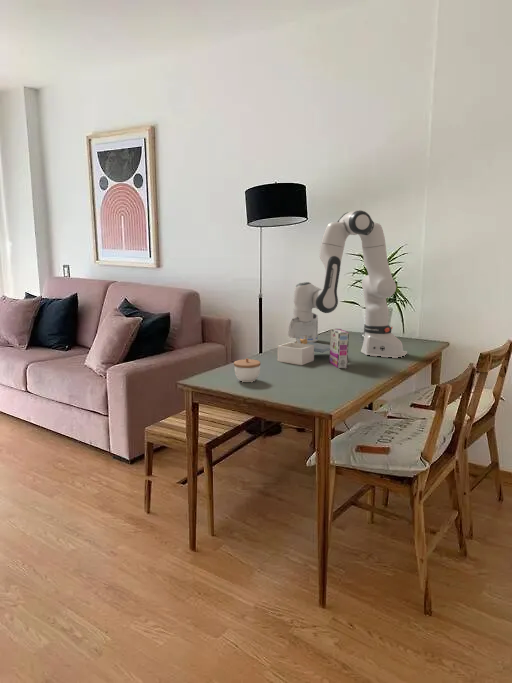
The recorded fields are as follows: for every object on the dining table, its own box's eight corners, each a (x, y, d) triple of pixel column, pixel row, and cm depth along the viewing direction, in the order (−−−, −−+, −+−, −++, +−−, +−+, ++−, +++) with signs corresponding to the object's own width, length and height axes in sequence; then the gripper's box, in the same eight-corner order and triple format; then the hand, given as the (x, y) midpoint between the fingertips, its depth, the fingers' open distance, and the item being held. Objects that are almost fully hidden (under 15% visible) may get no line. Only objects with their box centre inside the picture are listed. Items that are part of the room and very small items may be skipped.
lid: (334, 349, 254) (334, 341, 254) (323, 353, 246) (323, 345, 245) (304, 345, 264) (304, 337, 263) (292, 348, 256) (292, 340, 255)
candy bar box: (348, 369, 234) (349, 332, 231) (337, 369, 233) (338, 332, 230) (339, 363, 245) (340, 328, 242) (328, 363, 244) (329, 328, 241)
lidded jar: (235, 377, 221) (234, 355, 219) (260, 377, 221) (260, 355, 219) (233, 384, 211) (232, 361, 209) (260, 384, 210) (260, 361, 209)
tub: (313, 362, 247) (314, 345, 245) (301, 366, 238) (301, 349, 237) (290, 358, 254) (290, 341, 253) (277, 362, 246) (277, 345, 244)
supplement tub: (309, 338, 302) (309, 313, 299) (321, 341, 295) (321, 315, 292) (296, 340, 296) (297, 314, 293) (308, 343, 289) (309, 316, 286)
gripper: (296, 319, 246) (296, 348, 248) (318, 314, 262) (317, 341, 265) (285, 318, 249) (284, 347, 252) (307, 313, 265) (306, 340, 268)
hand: (301, 344), depth 258 cm, fingers closed on lid, 3 cm apart
